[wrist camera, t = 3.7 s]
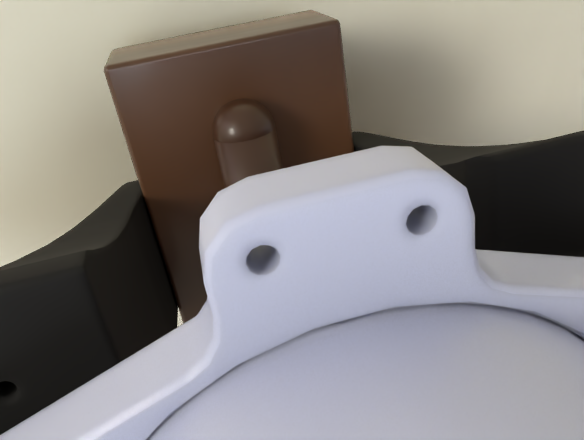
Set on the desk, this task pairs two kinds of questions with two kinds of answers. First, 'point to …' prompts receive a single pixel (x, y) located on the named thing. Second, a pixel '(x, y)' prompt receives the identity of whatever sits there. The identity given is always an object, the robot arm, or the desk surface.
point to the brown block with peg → (225, 120)
